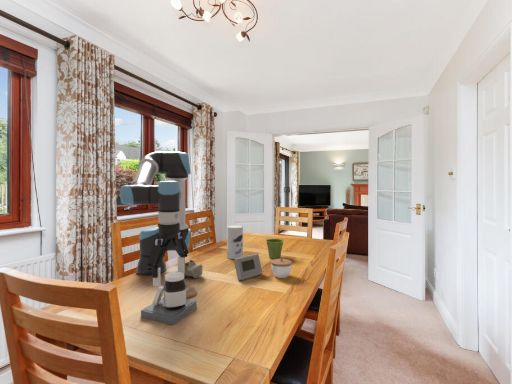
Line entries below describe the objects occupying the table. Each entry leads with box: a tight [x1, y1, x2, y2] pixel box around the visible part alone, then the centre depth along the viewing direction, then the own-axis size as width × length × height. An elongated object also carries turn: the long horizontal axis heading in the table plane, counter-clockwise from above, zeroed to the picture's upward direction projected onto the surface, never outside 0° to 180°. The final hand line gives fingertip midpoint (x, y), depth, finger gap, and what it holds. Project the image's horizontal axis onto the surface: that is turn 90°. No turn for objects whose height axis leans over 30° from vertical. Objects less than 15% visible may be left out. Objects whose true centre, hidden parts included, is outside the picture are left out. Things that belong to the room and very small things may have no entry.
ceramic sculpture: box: [176, 259, 203, 279], centre depth 141 cm, size 11×9×15 cm
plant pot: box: [265, 238, 285, 260], centre depth 177 cm, size 12×12×11 cm
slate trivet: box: [140, 297, 197, 326], centre depth 102 cm, size 14×14×3 cm
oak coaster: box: [186, 286, 198, 300], centre depth 119 cm, size 10×10×1 cm
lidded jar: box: [270, 257, 293, 279], centre depth 142 cm, size 11×11×9 cm
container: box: [226, 225, 244, 260], centre depth 177 cm, size 10×10×20 cm
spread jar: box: [152, 271, 187, 310], centre depth 101 cm, size 12×11×12 cm
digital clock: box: [233, 253, 263, 281], centre depth 142 cm, size 16×9×11 cm, turn 120°
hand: (169, 279), depth 102 cm, fingers open, 13 cm apart
